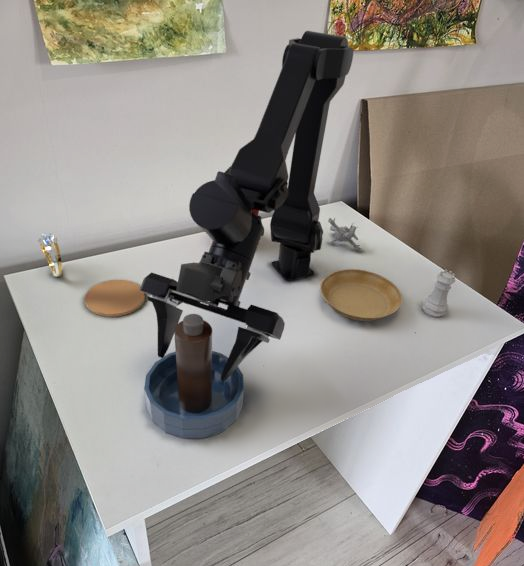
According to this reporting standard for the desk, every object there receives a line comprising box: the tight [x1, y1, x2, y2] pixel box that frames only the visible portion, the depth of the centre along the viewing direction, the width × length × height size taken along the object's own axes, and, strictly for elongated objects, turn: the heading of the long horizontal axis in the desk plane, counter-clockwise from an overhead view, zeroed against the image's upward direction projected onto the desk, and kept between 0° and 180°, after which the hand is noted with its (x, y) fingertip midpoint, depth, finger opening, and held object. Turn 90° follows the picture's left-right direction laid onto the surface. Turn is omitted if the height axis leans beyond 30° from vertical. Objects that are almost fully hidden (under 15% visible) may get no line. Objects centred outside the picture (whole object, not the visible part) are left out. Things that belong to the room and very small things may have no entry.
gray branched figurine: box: [327, 217, 362, 253], centre depth 104 cm, size 10×6×9 cm
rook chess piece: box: [421, 269, 456, 318], centre depth 87 cm, size 4×4×8 cm
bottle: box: [174, 313, 213, 413], centre depth 64 cm, size 5×5×15 cm
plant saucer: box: [319, 268, 403, 322], centre depth 89 cm, size 15×15×3 cm
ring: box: [36, 232, 63, 278], centre depth 87 cm, size 7×3×8 cm, turn 32°
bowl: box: [143, 350, 245, 439], centre depth 68 cm, size 13×13×4 cm
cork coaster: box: [84, 279, 146, 318], centre depth 85 cm, size 10×10×1 cm
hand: (191, 368), depth 64 cm, fingers open, 9 cm apart
